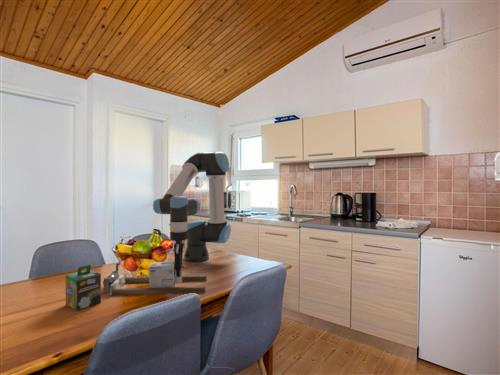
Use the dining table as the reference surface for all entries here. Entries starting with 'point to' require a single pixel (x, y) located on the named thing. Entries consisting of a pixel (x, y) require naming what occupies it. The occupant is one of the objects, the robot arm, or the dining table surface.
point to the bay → (123, 279)
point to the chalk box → (83, 288)
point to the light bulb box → (162, 274)
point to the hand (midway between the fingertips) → (178, 283)
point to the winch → (111, 279)
